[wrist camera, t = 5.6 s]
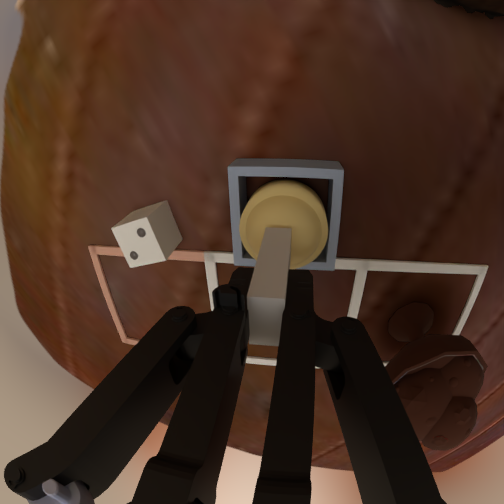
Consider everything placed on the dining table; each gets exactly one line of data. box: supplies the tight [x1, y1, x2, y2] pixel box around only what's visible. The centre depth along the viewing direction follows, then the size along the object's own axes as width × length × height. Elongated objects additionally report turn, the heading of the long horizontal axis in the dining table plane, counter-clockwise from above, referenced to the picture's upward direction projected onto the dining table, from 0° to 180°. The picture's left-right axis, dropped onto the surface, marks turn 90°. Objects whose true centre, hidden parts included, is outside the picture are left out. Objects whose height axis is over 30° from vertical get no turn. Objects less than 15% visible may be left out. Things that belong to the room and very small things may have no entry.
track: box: [88, 245, 489, 368], centre depth 29 cm, size 15×43×1 cm, turn 91°
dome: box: [239, 179, 328, 269], centre depth 20 cm, size 6×6×5 cm
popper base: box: [228, 158, 344, 271], centre depth 22 cm, size 8×8×3 cm
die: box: [111, 200, 182, 268], centre depth 25 cm, size 4×4×4 cm
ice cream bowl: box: [385, 302, 487, 450], centre depth 21 cm, size 11×11×15 cm
